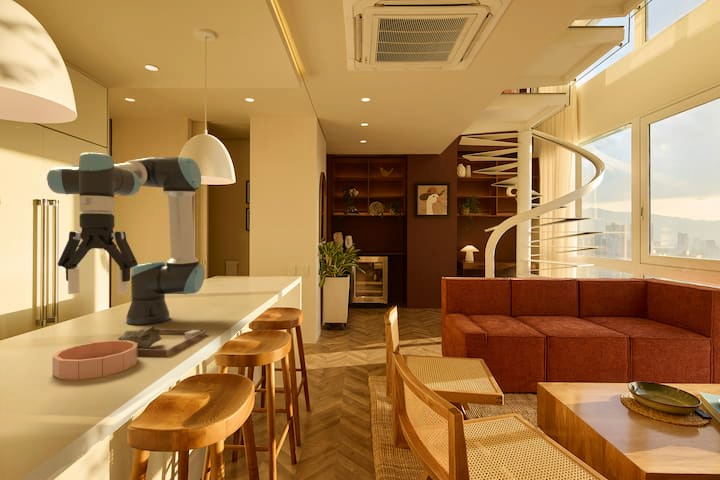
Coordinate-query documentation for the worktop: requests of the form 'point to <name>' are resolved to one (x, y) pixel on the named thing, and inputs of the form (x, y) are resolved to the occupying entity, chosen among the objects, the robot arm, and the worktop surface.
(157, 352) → the tray
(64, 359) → the bowl
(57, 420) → the worktop surface
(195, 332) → the beige rectangular block
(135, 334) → the rock
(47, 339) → the worktop surface
